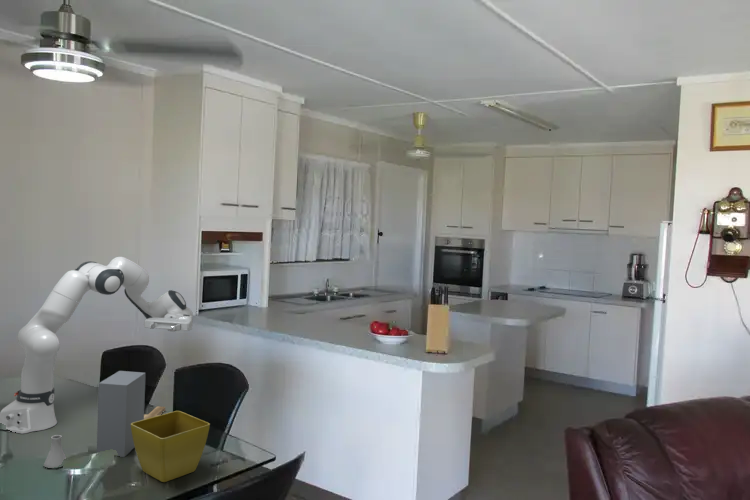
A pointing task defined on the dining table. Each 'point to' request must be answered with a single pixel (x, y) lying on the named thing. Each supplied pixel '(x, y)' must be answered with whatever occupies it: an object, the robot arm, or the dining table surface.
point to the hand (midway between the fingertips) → (162, 327)
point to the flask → (55, 453)
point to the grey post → (119, 410)
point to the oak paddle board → (155, 412)
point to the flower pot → (169, 444)
